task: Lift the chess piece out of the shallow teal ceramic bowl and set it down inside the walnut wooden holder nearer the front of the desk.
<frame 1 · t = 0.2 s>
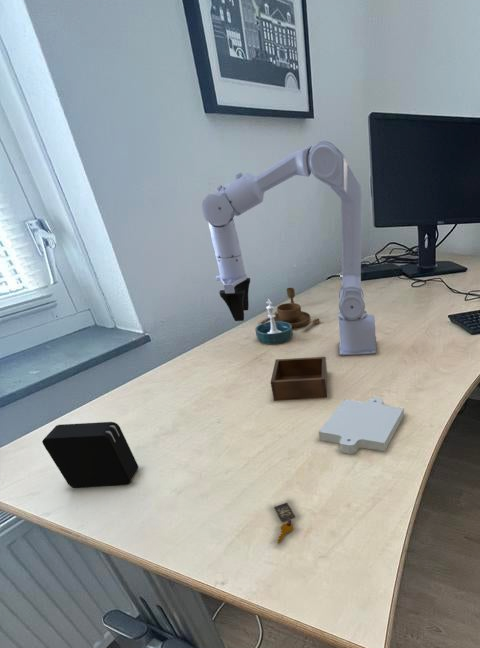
hand: (241, 315, 108), 10 cm above the table, tool pointing down, fingers open, 7 cm apart
bowl: (275, 337, 123), on the table
mounting plate: (363, 428, 86), on the table
key tag: (281, 522, 66), on the table
electronic device: (106, 479, 75), on the table
holder: (302, 386, 100), on the table
place setting: (297, 319, 135), on the table
chess piece: (275, 336, 123), resting on bowl
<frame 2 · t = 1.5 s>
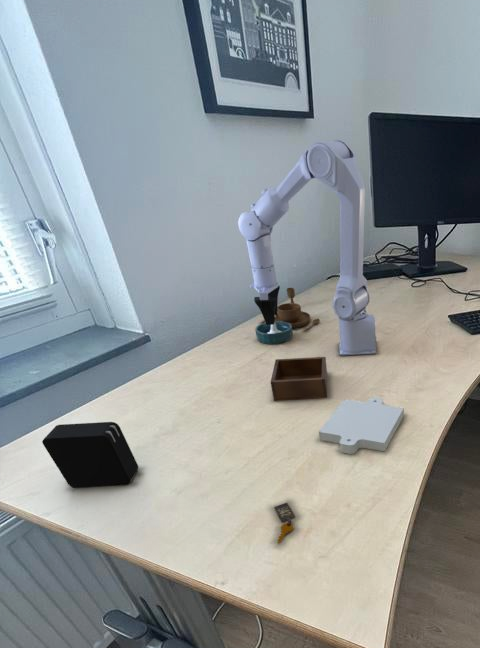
hand: (272, 319, 120), 5 cm above the table, tool pointing down, fingers open, 7 cm apart
nothing on the table moved.
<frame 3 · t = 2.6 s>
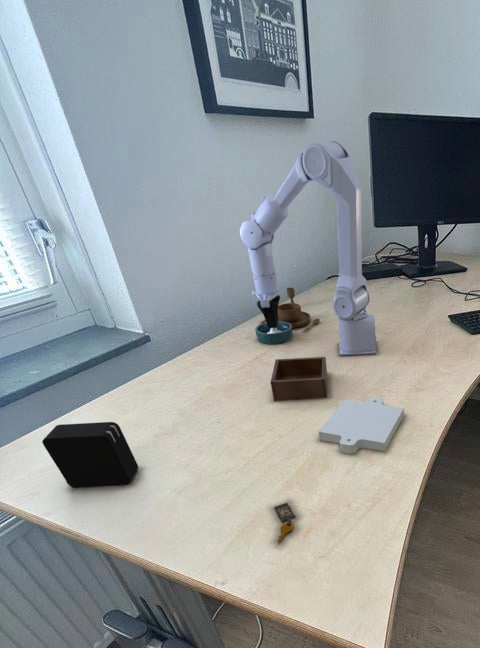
hand: (273, 325, 121), 3 cm above the table, tool pointing down, fingers closed on chess piece
chess piece: (275, 336, 123), resting on bowl, touching gripper
everything else where it was.
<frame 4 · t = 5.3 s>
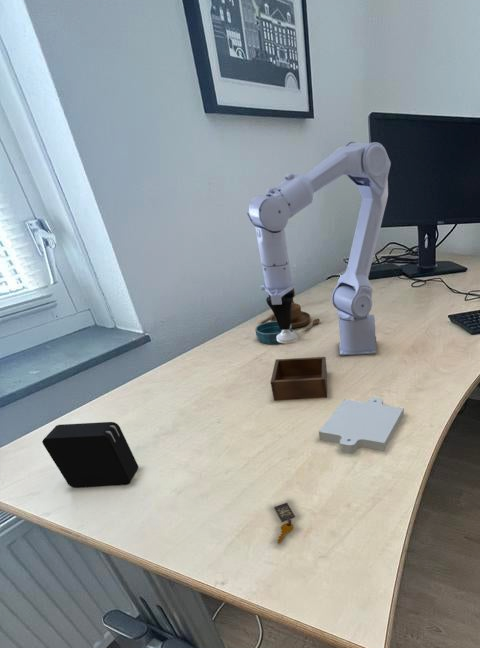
hand: (285, 327, 100), 10 cm above the table, tool pointing down, fingers closed on chess piece
chess piece: (287, 339, 103), point 7 cm above the table, touching gripper
everything else where it was.
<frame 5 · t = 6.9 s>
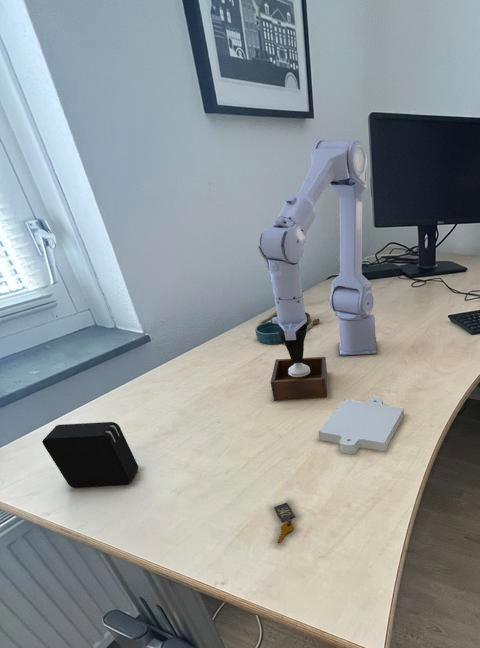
hand: (298, 359, 95), 7 cm above the table, tool pointing down, fingers closed on chess piece
chess piece: (299, 372, 98), point 3 cm above the table, touching gripper
everything else where it was.
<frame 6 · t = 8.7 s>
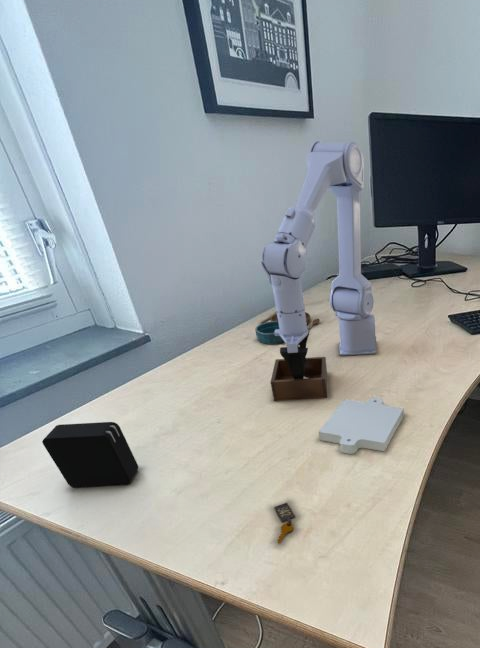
hand: (299, 370, 97), 4 cm above the table, tool pointing down, fingers open, 7 cm apart
chess piece: (301, 385, 100), resting on holder
everything else where it was.
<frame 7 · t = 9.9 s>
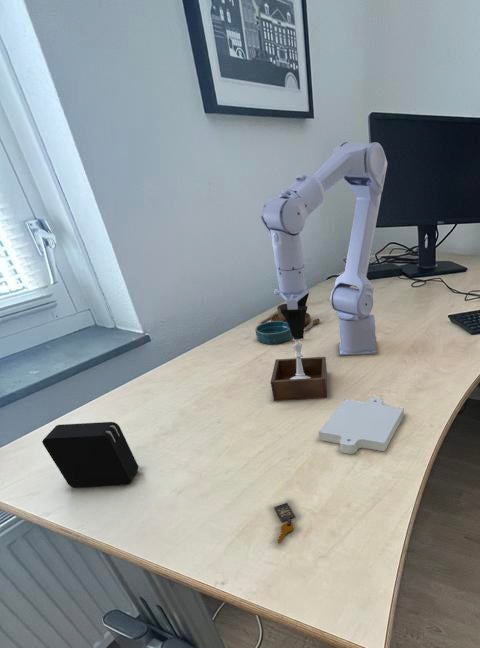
hand: (299, 332, 98), 10 cm above the table, tool pointing down, fingers open, 7 cm apart
chess piece: (301, 382, 99), point 1 cm above the table, touching gripper, holder
everything else where it was.
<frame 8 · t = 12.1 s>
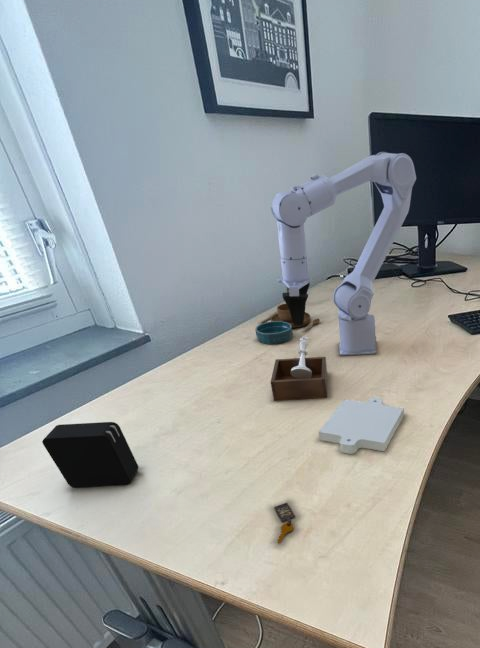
hand: (299, 319, 104), 10 cm above the table, tool pointing down, fingers open, 7 cm apart
chess piece: (301, 375, 99), point 2 cm above the table, touching holder
everything else where it was.
at the end: chess piece inside the target area in the holder (1.1 cm from its centre), point 2.4 cm above the holder's base; the gripper is holding nothing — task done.
